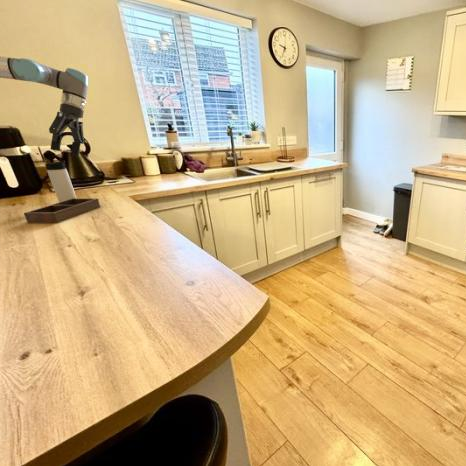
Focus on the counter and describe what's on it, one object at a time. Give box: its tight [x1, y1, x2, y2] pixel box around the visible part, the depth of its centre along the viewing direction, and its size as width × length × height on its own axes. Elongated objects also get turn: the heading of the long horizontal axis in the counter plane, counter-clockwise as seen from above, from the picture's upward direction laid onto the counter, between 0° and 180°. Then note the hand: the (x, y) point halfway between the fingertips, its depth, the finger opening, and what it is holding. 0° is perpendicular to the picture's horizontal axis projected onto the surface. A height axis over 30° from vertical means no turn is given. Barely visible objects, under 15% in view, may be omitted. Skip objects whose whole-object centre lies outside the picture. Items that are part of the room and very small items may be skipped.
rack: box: [23, 197, 101, 224], centre depth 119 cm, size 11×21×4 cm, turn 2°
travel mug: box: [44, 160, 77, 203], centre depth 129 cm, size 6×7×20 cm
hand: (65, 153), depth 128 cm, fingers open, 13 cm apart
